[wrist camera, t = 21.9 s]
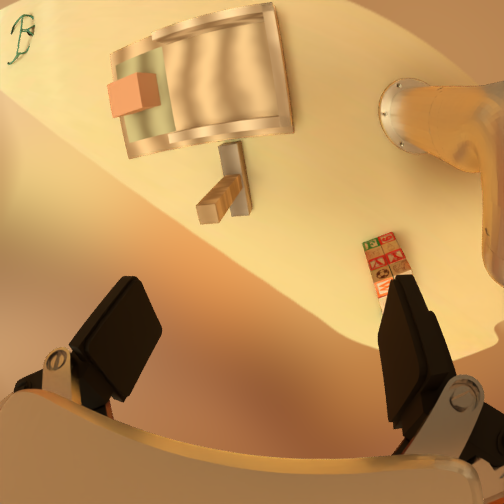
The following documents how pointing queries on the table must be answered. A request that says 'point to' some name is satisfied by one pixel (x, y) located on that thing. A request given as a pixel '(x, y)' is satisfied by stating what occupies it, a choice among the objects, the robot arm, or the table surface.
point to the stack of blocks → (385, 263)
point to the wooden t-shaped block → (227, 188)
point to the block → (133, 94)
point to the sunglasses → (20, 35)
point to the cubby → (209, 81)
